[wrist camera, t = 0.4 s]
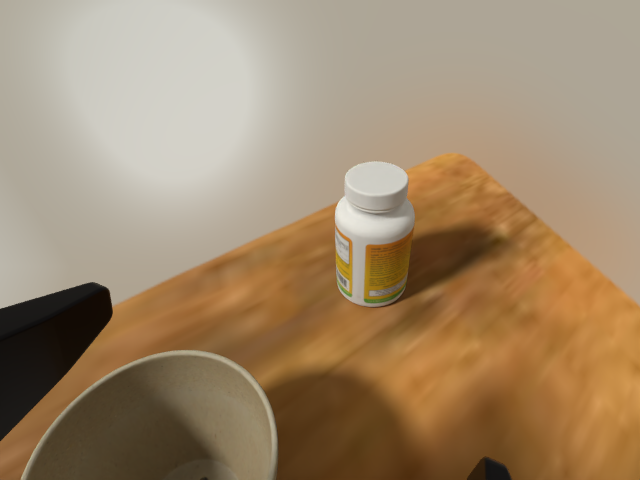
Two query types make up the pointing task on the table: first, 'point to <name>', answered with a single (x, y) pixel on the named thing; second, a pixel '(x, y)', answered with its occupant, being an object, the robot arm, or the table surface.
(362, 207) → the supplement bottle
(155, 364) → the flower pot
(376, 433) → the table surface
